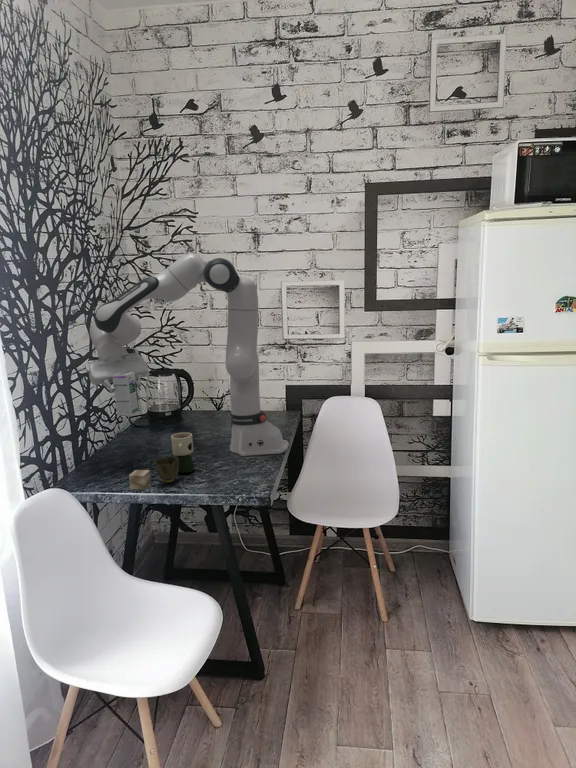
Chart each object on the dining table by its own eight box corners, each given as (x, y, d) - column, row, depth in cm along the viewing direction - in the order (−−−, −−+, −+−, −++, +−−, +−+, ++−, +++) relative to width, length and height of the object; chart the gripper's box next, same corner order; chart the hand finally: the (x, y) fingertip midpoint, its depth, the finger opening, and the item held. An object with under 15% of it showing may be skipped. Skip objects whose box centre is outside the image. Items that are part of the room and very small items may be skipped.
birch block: (151, 484, 181) (149, 469, 180) (145, 490, 176) (143, 475, 175) (136, 484, 182) (135, 469, 181) (130, 490, 177) (128, 475, 176)
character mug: (193, 476, 186) (190, 439, 183) (172, 478, 186) (168, 440, 183) (197, 465, 196) (193, 430, 194) (176, 466, 196) (173, 431, 194)
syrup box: (132, 415, 191) (127, 374, 188) (116, 415, 192) (111, 374, 189) (139, 411, 196) (135, 371, 193) (124, 411, 197) (120, 371, 194)
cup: (160, 488, 177) (158, 464, 175) (155, 481, 183) (152, 458, 182) (183, 483, 180) (181, 459, 178) (177, 476, 186) (174, 453, 185)
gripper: (84, 356, 189) (97, 388, 183) (141, 348, 201) (155, 378, 195) (82, 367, 194) (94, 399, 188) (138, 359, 205) (151, 389, 200)
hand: (126, 388), depth 192 cm, fingers closed on syrup box, 8 cm apart
